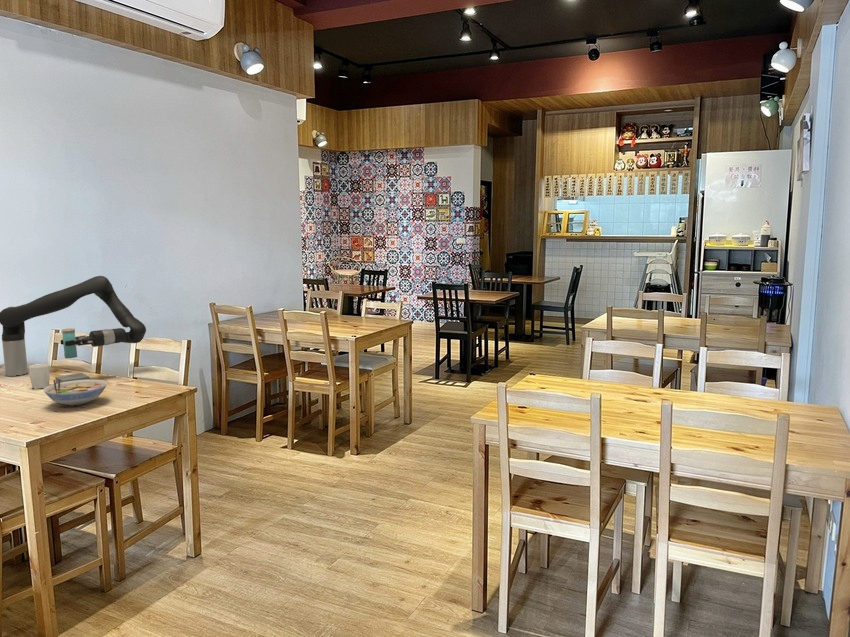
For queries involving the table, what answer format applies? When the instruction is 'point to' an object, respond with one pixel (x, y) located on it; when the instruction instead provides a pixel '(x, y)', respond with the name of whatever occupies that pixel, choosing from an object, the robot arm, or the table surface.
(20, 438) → the table surface
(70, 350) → the tea canister
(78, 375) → the slate plinth
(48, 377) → the white cup
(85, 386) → the ramen bowl
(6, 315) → the robot arm
